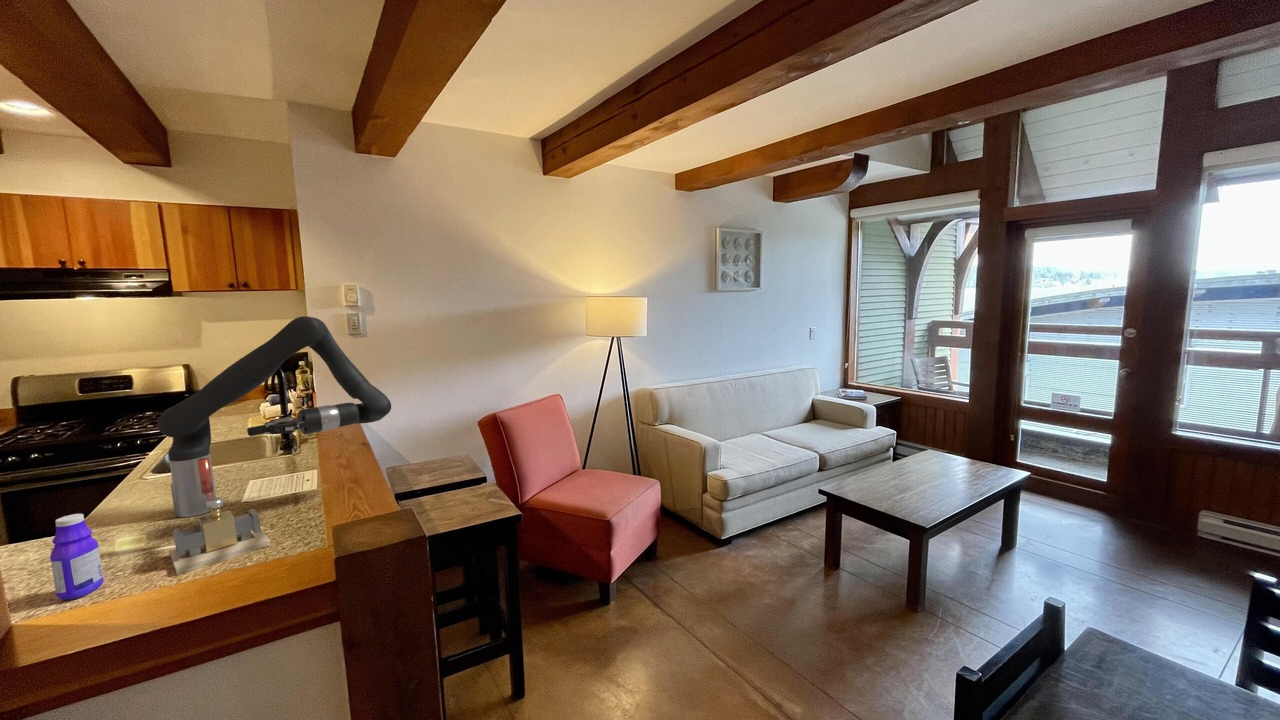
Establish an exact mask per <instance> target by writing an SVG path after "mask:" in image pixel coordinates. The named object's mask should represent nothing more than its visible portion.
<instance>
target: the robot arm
mask: <svg viewBox="0 0 1280 720" xmlns="http://www.w3.org/2000/svg"><path fill="white" fill-rule="evenodd" d="M307 347H309V348H310V349H311V350H313V351H314V353H316V355H318V356H319V357H320V358H321V359H322V360H323V361H324V363H325V364H326V367H328V370H329V371H330V373H331V375H332V376H333V377H334V379H335V381H336V382H337V383H338V384H339V386H340V387H341V388H342V390H344V392H346V394H347V395H348V396H349V397H350V398H352V399H355V400H357V399H358V400H359V401H360V402H361V403H354V402H343V403H339V404H338V403H337V404H331V405H321V406H313V407H309V408H304V409H300V410H298V413H297V417H292V416H288V417H287V416H286V417H284V418H282V417H279V418H276V419H273V420H271V421H267V422H265V423H264V424H261V425H256V426H251V427H247V428H246V430H247V435H248V436H249V437H254V436H259V435H265V434H266V435H272V436H273V435H282V434H294V433H295V432H297V430H300V433H302V434H303V435H310V434H317V433H320V432H321V433H322V432H324V431H331V430H333V429H337V428H341V427H347V426H351V425H354V424H355V425H357V424H358V425H359V424H360V425H361V424H368V423H369V424H370V423H375V422H379V421H381V420H382V419H383V418H385V417H386V416H387V415H388V414H390V412H391V411H392V403H391V401H390V399H389V398H388V397H387V395H386V394H385V393H383V391H381V390H379V388H378V387H376V386H375V385H373V384H371V383H370V381H369V380H368V379H367V378H366V376H365V375H364V374H363V373H362V372H361V371H360V370H359V369H358V367H357V366H356V365H355V364H354V363H353V362H352V361H351V360H350V358H348V356H347V355H346V354H345V352H344V351H343V350H342V348H341V347H340V345H339V344H338V343H337V341H336V340H335V338H334V337H333V335H332V333H331V332H330V330H329V329H328V326H327V325H326V324H325V322H324V321H323V320H321V319H319V318H317V317H312V316H307V315H306V316H305V315H304V316H302V315H301V316H298V317H296V318H294V319H292V320H291V321H290V322H288V323H287V324H286V325H285V326H284V327H283V328H281V329H280V331H278V332H277V333H276V334H275V335H274V336H272V338H270V339H269V340H267V341H266V342H265V343H263V344H261V345H259V346H257V348H255V349H253V350H252V351H250V352H248V353H246V355H244V356H243V357H241V358H239V359H237V361H235V362H234V363H232V364H231V365H229V366H228V367H227V368H225V369H224V370H223V371H221V372H220V373H219V374H217V375H216V376H215V377H213V378H212V379H211V380H210V381H209V382H208V383H206V384H205V385H204V386H203V387H202V388H201V389H199V390H198V391H196V392H195V393H194V394H192V395H190V396H189V397H187V398H185V399H184V400H182V401H181V402H178V403H177V404H174V405H173V406H171V407H169V408H167V409H166V410H164V411H163V412H162V413H161V414H160V416H159V417H158V420H157V428H158V431H159V432H160V433H161V434H163V436H166V437H169V438H172V443H171V445H170V448H169V449H168V452H167V453H168V454H167V456H168V461H169V469H170V475H171V481H172V482H171V484H170V490H171V491H170V492H171V497H172V505H173V510H174V511H173V512H174V515H176V516H177V517H178V518H179V517H180V518H188V517H189V518H190V517H195V516H200V515H201V516H202V515H204V514H207V513H209V512H211V510H208V509H207V506H206V501H207V500H206V498H205V497H204V494H202V492H201V485H200V478H199V470H198V463H197V460H198V459H202V458H209V461H210V468H211V475H212V483H213V490H214V491H213V494H214V495H215V496H216V497H217V493H216V488H215V487H216V486H215V480H214V478H215V477H214V473H213V466H212V465H213V464H212V457H211V449H210V447H211V444H212V432H211V431H212V430H211V423H210V422H211V421H210V417H211V416H212V415H214V413H216V412H217V411H219V410H220V409H222V408H224V407H227V406H229V404H232V403H233V402H235V401H237V400H239V399H240V398H243V397H245V396H247V394H250V393H251V392H252V391H254V390H255V389H256V388H258V387H260V386H261V385H262V384H264V383H265V382H267V381H268V380H269V379H270V378H271V377H272V376H273V375H274V374H275V373H276V372H277V370H278V369H279V368H280V367H281V366H282V365H283V363H284V362H285V361H287V359H289V358H290V357H292V356H293V355H295V354H296V353H298V352H300V351H301V350H303V349H305V348H307Z"/></svg>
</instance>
